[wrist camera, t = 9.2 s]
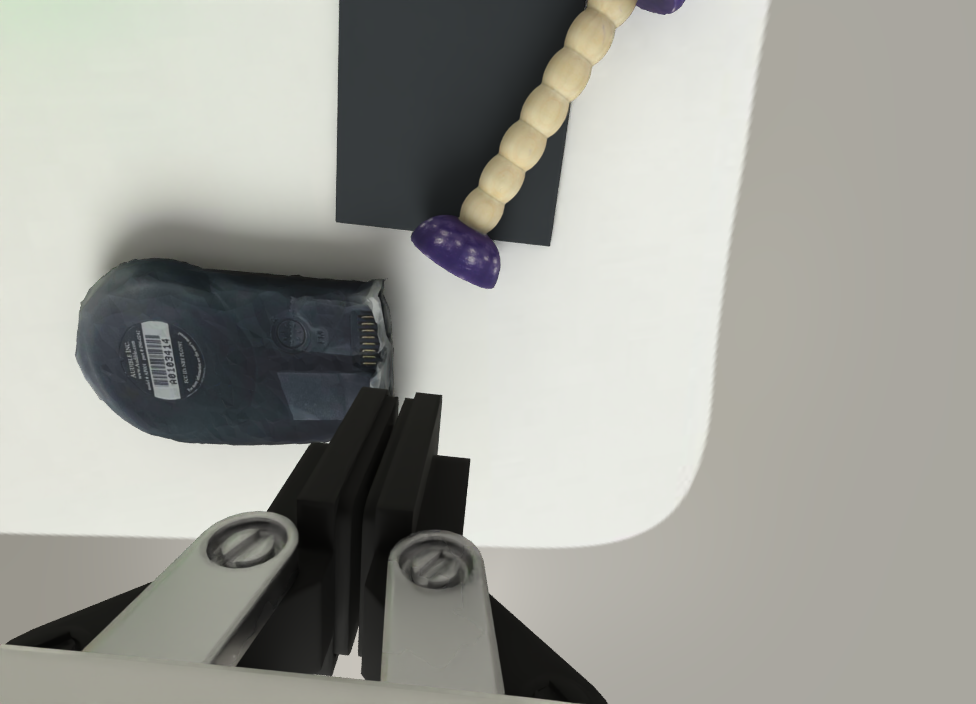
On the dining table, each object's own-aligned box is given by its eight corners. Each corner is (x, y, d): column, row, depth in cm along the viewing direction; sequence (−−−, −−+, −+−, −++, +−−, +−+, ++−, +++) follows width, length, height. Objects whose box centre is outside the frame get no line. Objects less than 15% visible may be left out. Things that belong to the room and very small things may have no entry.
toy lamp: (513, 294, 26) (742, -73, 21) (483, 300, 21) (765, -161, 17) (432, 239, 27) (635, -127, 22) (387, 234, 22) (630, -225, 17)
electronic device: (392, 247, 28) (70, 250, 26) (387, 285, 23) (-11, 292, 21) (401, 405, 32) (124, 416, 30) (399, 466, 27) (67, 483, 25)
